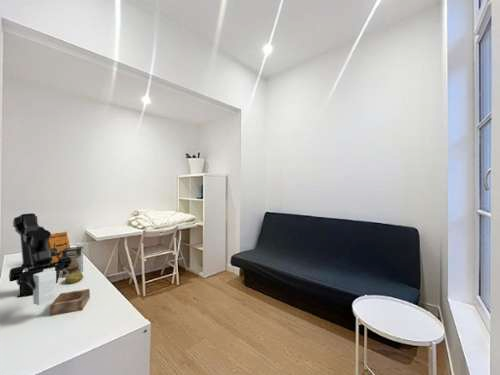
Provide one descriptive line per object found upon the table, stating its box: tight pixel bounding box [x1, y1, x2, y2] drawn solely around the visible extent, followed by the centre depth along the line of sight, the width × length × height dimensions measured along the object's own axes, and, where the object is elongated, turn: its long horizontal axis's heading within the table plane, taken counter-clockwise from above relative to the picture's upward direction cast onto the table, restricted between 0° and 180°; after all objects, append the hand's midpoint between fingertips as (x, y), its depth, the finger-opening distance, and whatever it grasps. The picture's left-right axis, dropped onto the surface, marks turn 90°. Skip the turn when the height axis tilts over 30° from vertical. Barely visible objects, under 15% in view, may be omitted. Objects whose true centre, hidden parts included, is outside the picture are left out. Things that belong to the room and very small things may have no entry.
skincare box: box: [32, 269, 57, 306], centre depth 91 cm, size 6×4×12 cm
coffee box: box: [61, 245, 84, 278], centre depth 134 cm, size 9×6×16 cm
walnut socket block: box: [49, 288, 91, 317], centre depth 98 cm, size 11×11×4 cm
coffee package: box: [47, 231, 71, 263], centre depth 150 cm, size 10×12×22 cm
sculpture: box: [64, 273, 84, 285], centre depth 124 cm, size 8×4×8 cm
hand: (45, 285), depth 90 cm, fingers closed on skincare box, 7 cm apart
